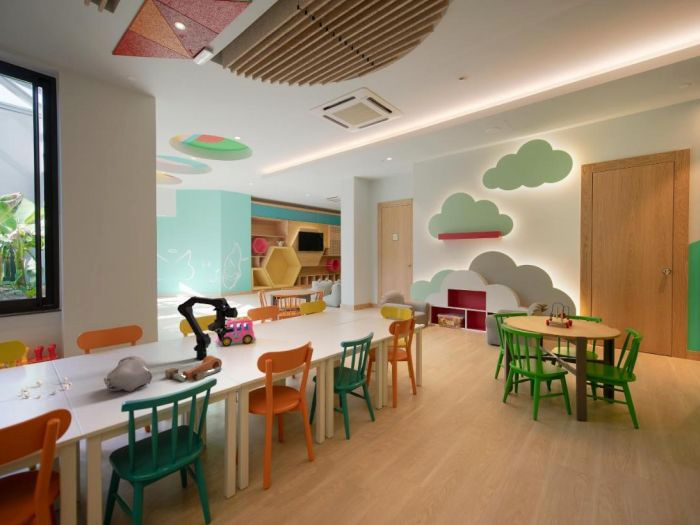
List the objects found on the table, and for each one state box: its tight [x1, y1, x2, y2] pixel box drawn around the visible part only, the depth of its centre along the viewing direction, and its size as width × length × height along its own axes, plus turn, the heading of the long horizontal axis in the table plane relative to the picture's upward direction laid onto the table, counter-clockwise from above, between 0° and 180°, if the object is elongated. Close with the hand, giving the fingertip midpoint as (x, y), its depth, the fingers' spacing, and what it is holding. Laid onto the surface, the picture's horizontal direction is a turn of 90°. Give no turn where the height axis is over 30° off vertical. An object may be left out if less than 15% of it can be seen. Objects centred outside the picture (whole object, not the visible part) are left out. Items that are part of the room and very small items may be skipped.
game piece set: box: [18, 377, 73, 399], centre depth 163 cm, size 19×20×4 cm
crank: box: [182, 355, 223, 381], centre depth 188 cm, size 20×8×8 cm, turn 143°
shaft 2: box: [191, 366, 222, 382], centre depth 185 cm, size 16×5×4 cm, turn 148°
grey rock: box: [103, 355, 153, 392], centre depth 166 cm, size 20×18×15 cm
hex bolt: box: [164, 367, 188, 383], centre depth 179 cm, size 14×5×4 cm, turn 58°
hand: (220, 341), depth 211 cm, fingers closed
